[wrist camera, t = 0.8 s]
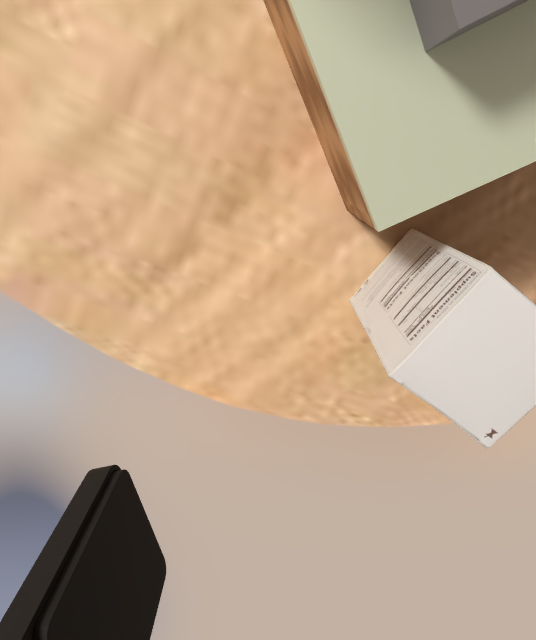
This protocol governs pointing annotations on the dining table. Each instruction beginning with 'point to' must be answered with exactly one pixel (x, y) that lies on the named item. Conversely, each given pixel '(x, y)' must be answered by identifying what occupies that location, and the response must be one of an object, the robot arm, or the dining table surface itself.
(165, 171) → the dining table surface
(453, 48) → the lid
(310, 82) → the brown wooden box
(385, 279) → the supplement box
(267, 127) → the dining table surface
